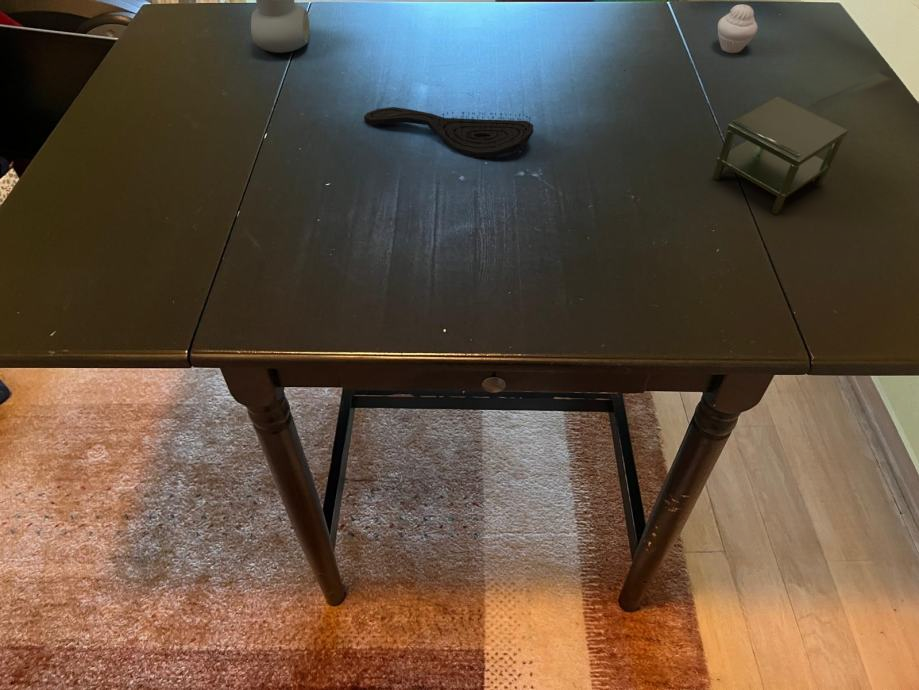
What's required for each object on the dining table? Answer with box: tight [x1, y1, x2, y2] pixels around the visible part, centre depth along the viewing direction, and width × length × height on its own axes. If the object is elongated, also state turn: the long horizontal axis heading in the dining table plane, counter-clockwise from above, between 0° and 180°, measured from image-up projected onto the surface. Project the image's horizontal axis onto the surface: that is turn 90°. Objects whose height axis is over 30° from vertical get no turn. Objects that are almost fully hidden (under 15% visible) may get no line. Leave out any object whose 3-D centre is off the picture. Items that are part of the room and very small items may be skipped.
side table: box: [712, 96, 849, 216], centre depth 86 cm, size 10×10×9 cm
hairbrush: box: [363, 106, 535, 159], centre depth 96 cm, size 8×4×25 cm
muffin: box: [717, 4, 759, 54], centre depth 109 cm, size 6×6×7 cm
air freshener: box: [250, 0, 310, 54], centre depth 111 cm, size 11×8×10 cm
